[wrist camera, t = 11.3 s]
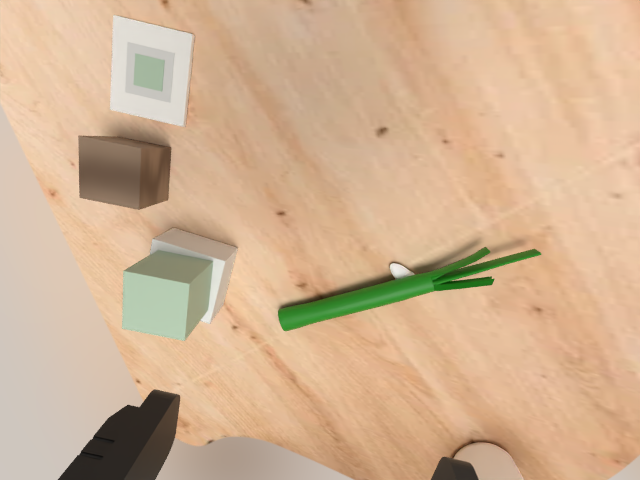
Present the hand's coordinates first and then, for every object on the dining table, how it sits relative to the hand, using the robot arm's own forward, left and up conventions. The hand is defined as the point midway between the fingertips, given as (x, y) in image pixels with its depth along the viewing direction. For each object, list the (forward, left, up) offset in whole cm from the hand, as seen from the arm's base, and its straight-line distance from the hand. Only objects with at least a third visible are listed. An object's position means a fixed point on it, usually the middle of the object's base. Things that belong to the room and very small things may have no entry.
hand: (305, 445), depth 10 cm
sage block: (+9, -14, -25) cm, 30 cm away
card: (-11, -22, -30) cm, 38 cm away
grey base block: (+9, -14, -30) cm, 34 cm away
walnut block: (-1, -22, -30) cm, 37 cm away
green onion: (+5, +10, -30) cm, 32 cm away
